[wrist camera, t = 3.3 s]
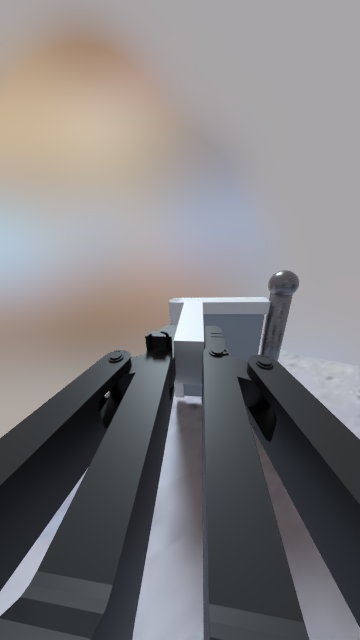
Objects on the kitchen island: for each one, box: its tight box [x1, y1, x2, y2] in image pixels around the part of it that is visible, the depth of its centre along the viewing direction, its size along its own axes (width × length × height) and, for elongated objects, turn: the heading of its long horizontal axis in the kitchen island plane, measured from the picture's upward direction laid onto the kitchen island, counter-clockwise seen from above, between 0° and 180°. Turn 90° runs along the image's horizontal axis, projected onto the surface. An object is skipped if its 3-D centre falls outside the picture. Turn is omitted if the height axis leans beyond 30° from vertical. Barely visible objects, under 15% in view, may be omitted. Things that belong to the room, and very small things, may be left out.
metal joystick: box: [260, 271, 299, 361], centre depth 25 cm, size 5×5×22 cm
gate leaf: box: [169, 297, 270, 397], centre depth 26 cm, size 12×2×17 cm, turn 84°
